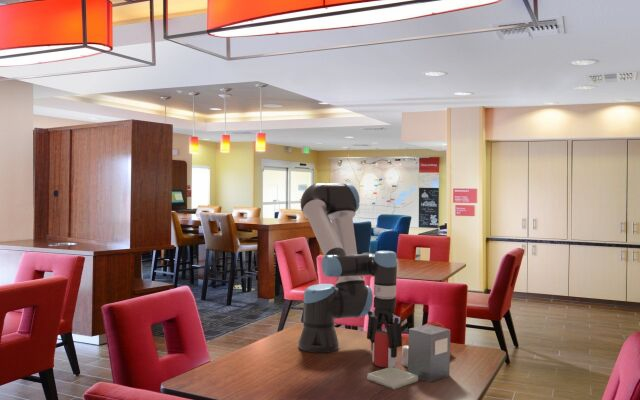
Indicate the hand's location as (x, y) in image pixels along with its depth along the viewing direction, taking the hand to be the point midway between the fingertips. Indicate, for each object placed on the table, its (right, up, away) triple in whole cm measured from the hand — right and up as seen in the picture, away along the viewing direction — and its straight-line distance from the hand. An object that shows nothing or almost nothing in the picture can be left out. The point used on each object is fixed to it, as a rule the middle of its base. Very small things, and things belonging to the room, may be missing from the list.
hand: (383, 363), depth 192 cm
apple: (+21, -1, +18) cm, 28 cm away
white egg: (+9, -1, +1) cm, 9 cm away
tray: (+1, -1, -15) cm, 15 cm away
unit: (+14, -1, -10) cm, 17 cm away
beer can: (0, -1, 0) cm, 1 cm away
